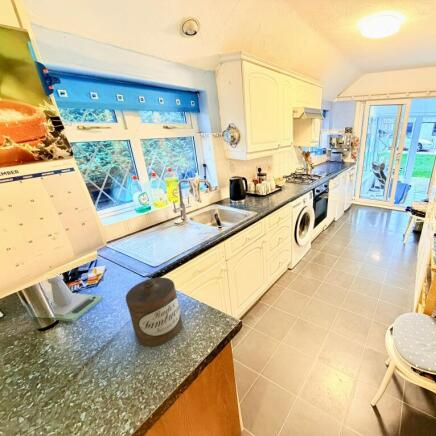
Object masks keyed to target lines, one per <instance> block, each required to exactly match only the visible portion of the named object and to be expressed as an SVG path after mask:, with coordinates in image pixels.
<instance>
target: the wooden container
mask: <svg viewBox="0 0 436 436" xmlns="http://www.w3.org/2000/svg"><path fill="white" fill-rule="evenodd" d="M175 286H176V285H175V283H174V281H173V280H172V279H171V278H168V277H153V278H149V279H146V280H143V281H141V282H139V283H137V284H134V286H133V287H131V288H130V289H129V290H128V291H127V293H126V296H125V302H126V306H127V308H128V311H129V312H128V313H129V315H130V320H131V324H132V328H133V331H134V333H135V337H136V341H137V342H138V344H139V345H141V346H143V347H149V348H150V347H151V348H152V347H157V346H161V345H164V344H165V343H167V342H169V341H171V340H172V339H173V338H175V337H176V336H177V335H178V334H179V332H180V331H181V329H182V327H183V319H182V314H181V308H180V304H179V300H178V296H177V292H176V287H175Z"/></svg>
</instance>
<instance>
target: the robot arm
mask: <svg viewBox="0 0 436 436" xmlns="http://www.w3.org/2000/svg"><path fill="white" fill-rule="evenodd" d="M73 271H74V273H75V275H76V276H78V275H79V272H78V269H77V267H76V268H75V269H73Z"/></svg>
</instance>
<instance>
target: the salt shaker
mask: <svg viewBox="0 0 436 436" xmlns="http://www.w3.org/2000/svg"><path fill="white" fill-rule="evenodd" d="M60 274H61V275H59V276H56V277H54V278H51V279H48V278H47V279H48V280H47V279H46V280H47V281H46V282H47V283H48V284H50V287H51V295H52V300H53V301H52V302H54V303H55V304H57V305H59V306H61V307H62V306H66V305H68V304H70V303H71V302H72V299H73V296H74V295H73V293H74V292H72V291H71V289H70V288H69V287H68V285H67V284H66V283H65V281H64V275H63V274H62V273H60Z"/></svg>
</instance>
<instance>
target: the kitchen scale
mask: <svg viewBox="0 0 436 436" xmlns="http://www.w3.org/2000/svg"><path fill="white" fill-rule="evenodd" d="M72 293H73V295H74V296H73V299H72V302H71V303H70V304H68V305H66V306H62V307H61V306H59V305H57V304H55V303H54V301H52V302H51V303H52V306H53V308H54V312H55V318H54V317H52V318H51V319H50V320H55V321H63V322H64V321H65V322H72V323H73V322H75V321H76V320H78V319H79V318H80V317H81V316H83V315H85V314H86V313H87V312H88V311H90V310H91V309H92V308H93V307H94V306H95V305H97V304H99V302H101V301H102V300H103V299H104V296H103V295H97V294H90V293H89V294H87V293H78V292H72Z"/></svg>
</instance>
